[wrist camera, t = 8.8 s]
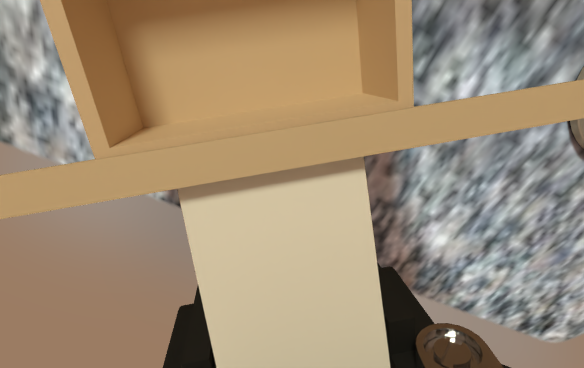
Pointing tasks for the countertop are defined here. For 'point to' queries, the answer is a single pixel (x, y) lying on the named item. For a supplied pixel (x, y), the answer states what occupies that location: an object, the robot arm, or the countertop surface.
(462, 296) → the countertop surface
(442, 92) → the countertop surface
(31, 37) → the countertop surface
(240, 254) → the carton lid
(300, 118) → the carton
